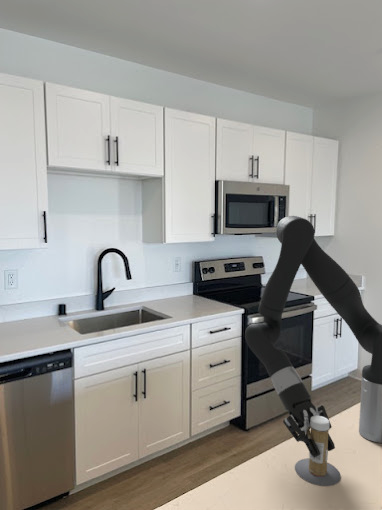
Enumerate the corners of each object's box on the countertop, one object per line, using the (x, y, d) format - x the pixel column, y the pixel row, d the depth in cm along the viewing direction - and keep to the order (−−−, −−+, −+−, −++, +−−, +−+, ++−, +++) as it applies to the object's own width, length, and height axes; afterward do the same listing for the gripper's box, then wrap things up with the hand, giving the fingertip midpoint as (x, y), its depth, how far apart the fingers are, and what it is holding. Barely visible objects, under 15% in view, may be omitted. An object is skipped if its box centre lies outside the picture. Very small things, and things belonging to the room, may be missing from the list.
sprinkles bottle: (330, 473, 96) (333, 420, 96) (319, 479, 94) (321, 425, 93) (315, 463, 100) (318, 413, 99) (304, 469, 98) (306, 417, 97)
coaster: (314, 454, 105) (314, 453, 105) (350, 476, 95) (350, 476, 95) (285, 466, 99) (285, 466, 99) (321, 491, 89) (321, 491, 89)
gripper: (278, 386, 98) (314, 456, 89) (316, 376, 106) (352, 439, 97) (263, 399, 103) (296, 466, 94) (300, 388, 111) (333, 449, 101)
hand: (324, 452), depth 95 cm, fingers open, 5 cm apart
